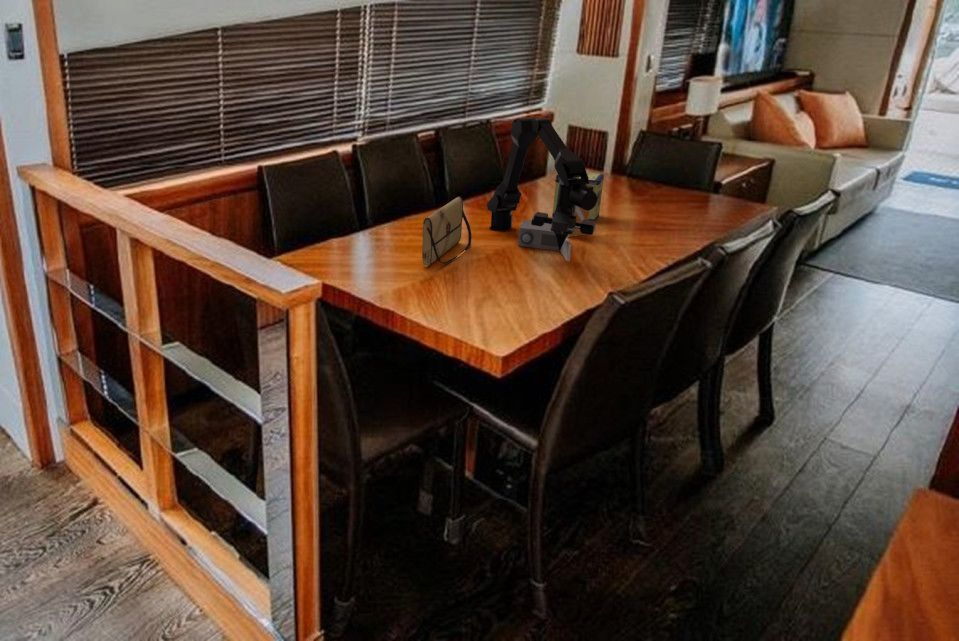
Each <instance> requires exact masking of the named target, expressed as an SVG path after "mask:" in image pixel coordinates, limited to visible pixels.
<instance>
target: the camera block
mask: <svg viewBox="0 0 959 641" xmlns="http://www.w3.org/2000/svg"><path fill="white" fill-rule="evenodd" d="M531 222H532V220H527V219H524V220H522V222H521V225H520V226H519V229H518V244H517V246H518V245H519V246H518V247H527V248H533V249H534V248H535V249H542V248H543V249H544V250H550V249H551V250H552V251H558V250H559V247H558V242H557V238H556V235H555V233H554V231H551V230H550V229H551V224H548V223H544V225H542V226H541V227H540V226H535V225H531ZM543 249H542V250H543ZM551 250H550V251H551ZM559 252H560V250H559Z"/></svg>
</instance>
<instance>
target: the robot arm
mask: <svg viewBox="0 0 959 641" xmlns="http://www.w3.org/2000/svg"><path fill="white" fill-rule="evenodd" d="M538 136H539V138H540V141H541V142H542V143H543V144H544V146H545V147H546V149H547V150H548V152H549V154H550V155H551V157H552V158H553V160H554V165H553V166H554V169H555V171H556V173H557V174H558V175H559V178H557V179H556V178H555V179H554V182H555V183H556V182H557V183H559V190H558V198H557V205H556V210H555V212H554V215H553V217H550V216H549V214H548V213H546V212H541V211H536V212H535V213H534V214H533V215H532V216H531V221H532V222H531V225H535V226H540V227H541V226H542V225H544V223H548V224H551V229H550V230H551V231H554V233H555V235H556V238H557V242H558V247H559V250H561V248H562V246H563V244H564V242H565V240H566V238H567V239H568V237H567V236H568V235H569V234H573V232H574V230H575V228H577V229H580V232H581V233H582V234H586V235H588V236H593V234H595V233H594V232H595V231H596V226H597V224H596V221H590V220H584V219H583V221H582V223H581V222H576V220H577V218H576V216H574V215H575V208H576V206H578V207H580V208H582V209H584V210H587V211H589V210H591V209H593V208H594V207H595V205H596V203H597V199H598V198H597V195H596V193H595V192H594V191H593V187H592V186H588V185H586V184H589V179H588V178H589V177H588V175H587V173H588V172H587V169H586V166H585V162H584V161H583V159H582V158H581V157H580V156H579V155H578V154H577V153H575V152H573V151H571V150H570V149H569V148H568V147H567V145H566V144H565V143H564V141H563V139H562V138H561V137H560V135H559V134H558V132H557V131H556V129H555V128H554V126H553V125H552V121H551V119H549V118H546V117H545V118H535V117H533V116H532V117H518V118H515V119H513V121H512V123H511V129H510V137H511V140H512V142H513V143H512V146H511V149H510V154H509V158H508V161H507V165H506V168H505V171H504V176H503V179H502V182H501V183H500V184H498V185H497V187H496V188H495V190H494V192H493V196H492V197H491V198H490V199H489V200H488V201H487V203H486V206H487V210H488V211H489V212H491V215H490V216H491V217H490V218H491V219H490V226H489V230H491V231H492V230H493V231H494V230H495V231H501V232H509V231H510V229H512V226H513V219H514V218H513V216H514V215H513V214H512V212H514V211H515V212H516V210H517V208H518V205H519V204H520V200H521V197H522V193H521V192H520V190H519V187H518V186H519V182H520V177H521V174H522V172H523V168H524V163H525V160H526V157H527V155H528V154H527V153H528V150H529V147H530V146H531V145H532V144H533V143H534V142H535V141H536V140H537V137H538ZM579 177H580V178H581V179H572V180H570V178H579Z"/></svg>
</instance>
